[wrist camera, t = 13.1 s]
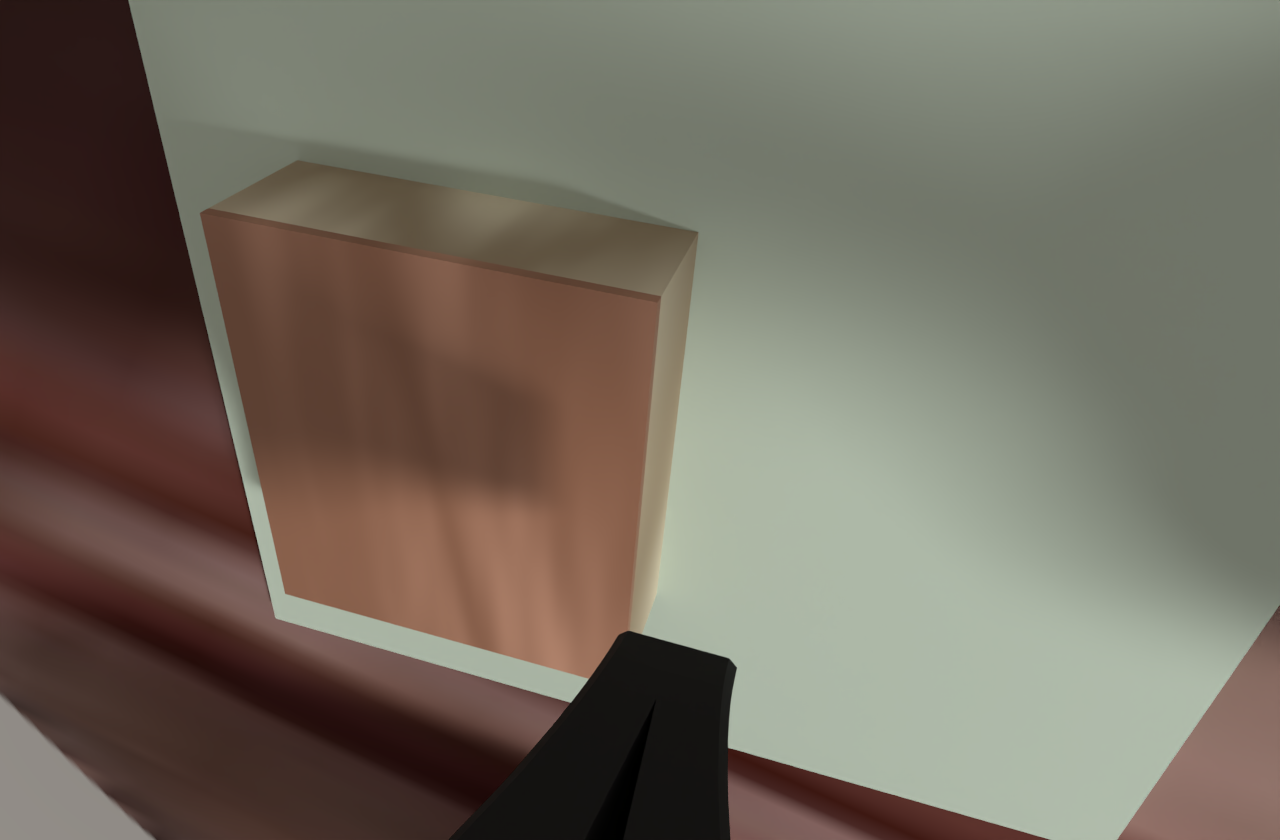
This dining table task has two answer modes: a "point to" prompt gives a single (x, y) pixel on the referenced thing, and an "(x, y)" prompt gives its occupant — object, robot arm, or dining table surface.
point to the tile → (458, 403)
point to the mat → (863, 340)
